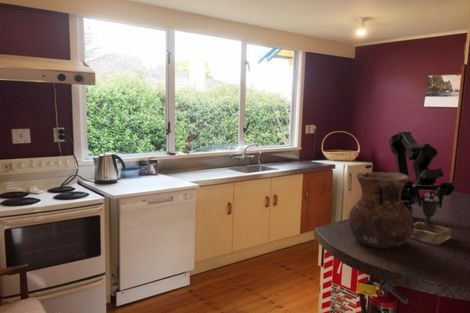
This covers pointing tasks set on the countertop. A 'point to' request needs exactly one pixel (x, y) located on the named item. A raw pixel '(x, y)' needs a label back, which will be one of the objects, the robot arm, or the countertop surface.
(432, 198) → the sundae
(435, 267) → the countertop surface
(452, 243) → the countertop surface
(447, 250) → the countertop surface
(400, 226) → the jug
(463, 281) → the countertop surface
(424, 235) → the cream square tray
